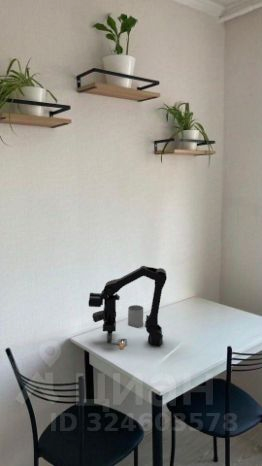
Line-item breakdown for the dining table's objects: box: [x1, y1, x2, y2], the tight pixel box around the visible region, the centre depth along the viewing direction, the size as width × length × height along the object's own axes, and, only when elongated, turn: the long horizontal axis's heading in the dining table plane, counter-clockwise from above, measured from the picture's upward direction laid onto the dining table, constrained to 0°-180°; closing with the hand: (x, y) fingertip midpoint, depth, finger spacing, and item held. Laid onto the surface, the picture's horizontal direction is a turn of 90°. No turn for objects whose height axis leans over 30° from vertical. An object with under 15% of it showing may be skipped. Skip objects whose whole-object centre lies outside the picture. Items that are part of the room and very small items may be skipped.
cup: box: [127, 304, 144, 329], centre depth 219 cm, size 8×8×10 cm
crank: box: [106, 331, 128, 347], centre depth 192 cm, size 10×4×6 cm, turn 90°
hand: (109, 336), depth 195 cm, fingers closed
